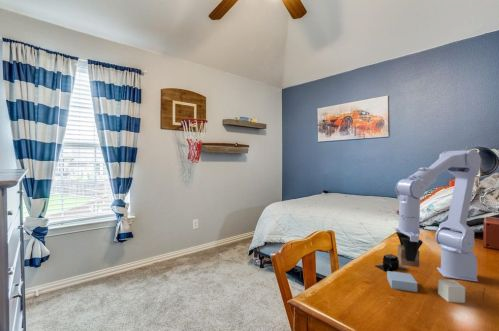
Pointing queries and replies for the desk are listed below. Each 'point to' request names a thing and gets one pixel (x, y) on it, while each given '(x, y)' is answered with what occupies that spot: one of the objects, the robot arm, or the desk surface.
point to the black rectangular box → (390, 264)
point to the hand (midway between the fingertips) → (408, 257)
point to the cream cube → (451, 291)
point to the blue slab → (401, 281)
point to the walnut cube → (403, 258)
